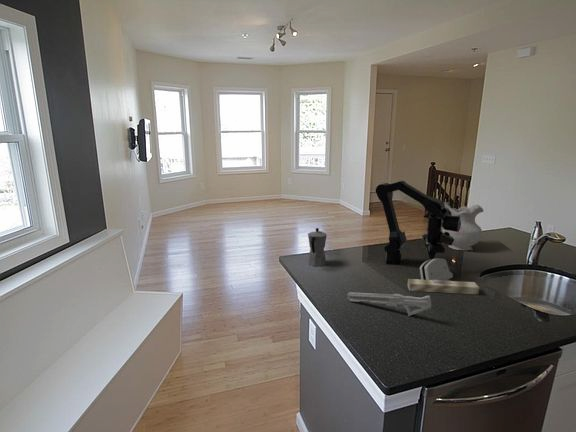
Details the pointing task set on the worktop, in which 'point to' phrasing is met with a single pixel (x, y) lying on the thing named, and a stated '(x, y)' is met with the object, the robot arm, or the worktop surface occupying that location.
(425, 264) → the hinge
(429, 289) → the beige wooden bar
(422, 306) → the gun
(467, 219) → the ceramic pitcher
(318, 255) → the coffeepot
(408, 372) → the worktop surface
